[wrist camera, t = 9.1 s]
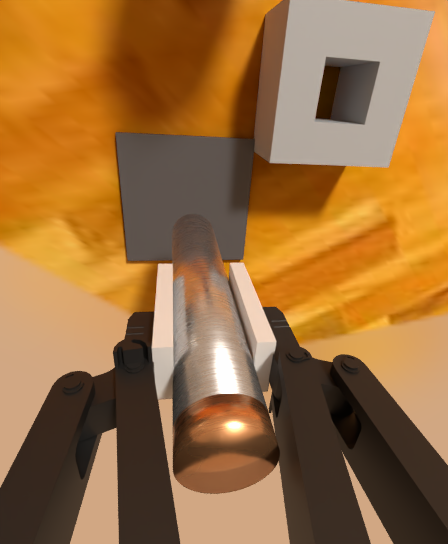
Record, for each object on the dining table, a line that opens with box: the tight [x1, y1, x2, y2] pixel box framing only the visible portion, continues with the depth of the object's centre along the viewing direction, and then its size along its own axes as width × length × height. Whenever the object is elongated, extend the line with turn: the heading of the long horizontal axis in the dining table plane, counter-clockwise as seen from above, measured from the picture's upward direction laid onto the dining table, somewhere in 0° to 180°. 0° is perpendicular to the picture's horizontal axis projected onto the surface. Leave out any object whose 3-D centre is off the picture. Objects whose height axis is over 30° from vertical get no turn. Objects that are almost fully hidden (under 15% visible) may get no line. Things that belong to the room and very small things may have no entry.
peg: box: [172, 214, 280, 494], centre depth 17 cm, size 3×3×18 cm
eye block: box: [254, 0, 435, 167], centre depth 25 cm, size 10×10×6 cm
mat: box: [116, 132, 255, 261], centre depth 31 cm, size 12×12×1 cm
